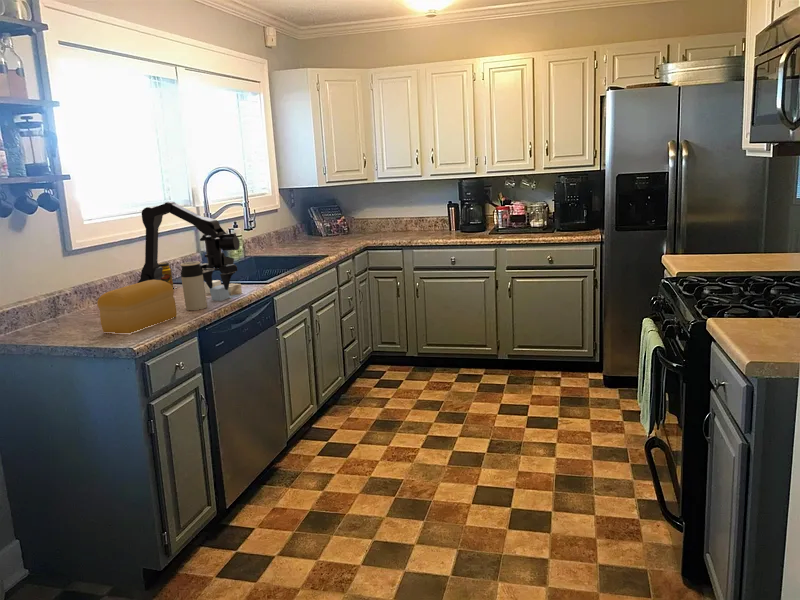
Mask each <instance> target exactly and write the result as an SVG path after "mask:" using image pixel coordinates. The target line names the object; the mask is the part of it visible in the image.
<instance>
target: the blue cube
mask: <svg viewBox="0 0 800 600" xmlns="http://www.w3.org/2000/svg"><path fill="white" fill-rule="evenodd" d="M209 294H210V296H211V301H216V302H217V301H218V302H222V301H225V300H227V299H229V297H230V296H229V292H228V290H225V287H224V286H223V285H222V284H221V285H218V286H216V287H213V288H211V289H210V293H209Z"/></svg>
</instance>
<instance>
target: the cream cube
mask: <svg viewBox="0 0 800 600" xmlns="http://www.w3.org/2000/svg"><path fill="white" fill-rule="evenodd" d="M218 285H222V279H221V280H219V279H216V280H214V279H212V288H213V287H216V286H218ZM204 287H205V294H211V293H210V288H209V287H208V285H207V284H206V282H205V281H204Z"/></svg>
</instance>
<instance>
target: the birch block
mask: <svg viewBox="0 0 800 600" xmlns="http://www.w3.org/2000/svg"><path fill="white" fill-rule="evenodd" d="M223 286H224V285H223ZM228 292H229V295H235V294H236V295H241V294H243V291H242V284H241V283H229V288H228Z"/></svg>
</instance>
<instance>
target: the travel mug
mask: <svg viewBox="0 0 800 600" xmlns="http://www.w3.org/2000/svg"><path fill="white" fill-rule="evenodd" d="M200 264H201V262H200V261H186V262H182V263H180V266H181V271H180V278H181V285H182V289H183V290H182V291H183V298H184V304H185V310H187V311H189V310H194V311H200V310H199V309H201V310H203V309H204V310H205V309H206V308H208V304H207V303H208V302H207V301H208V300H207V295H206V294H207V293H205V285H204V283H205V281H204V279H203V272H202V269H201V268H200Z"/></svg>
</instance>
